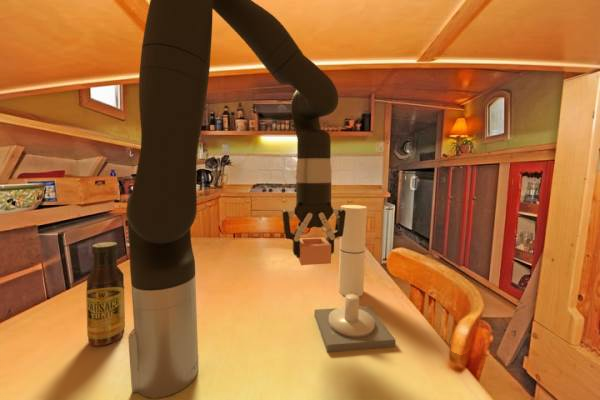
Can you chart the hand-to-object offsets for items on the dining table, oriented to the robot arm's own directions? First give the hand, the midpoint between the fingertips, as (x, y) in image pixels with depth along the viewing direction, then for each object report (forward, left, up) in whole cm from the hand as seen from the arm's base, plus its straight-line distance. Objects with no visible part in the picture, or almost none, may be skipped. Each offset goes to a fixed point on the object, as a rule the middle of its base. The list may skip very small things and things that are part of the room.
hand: (313, 255), depth 58 cm
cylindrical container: (+14, +15, -16) cm, 26 cm away
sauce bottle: (-43, 0, -16) cm, 46 cm away
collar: (0, 0, -1) cm, 1 cm away
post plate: (+8, -3, -16) cm, 18 cm away
